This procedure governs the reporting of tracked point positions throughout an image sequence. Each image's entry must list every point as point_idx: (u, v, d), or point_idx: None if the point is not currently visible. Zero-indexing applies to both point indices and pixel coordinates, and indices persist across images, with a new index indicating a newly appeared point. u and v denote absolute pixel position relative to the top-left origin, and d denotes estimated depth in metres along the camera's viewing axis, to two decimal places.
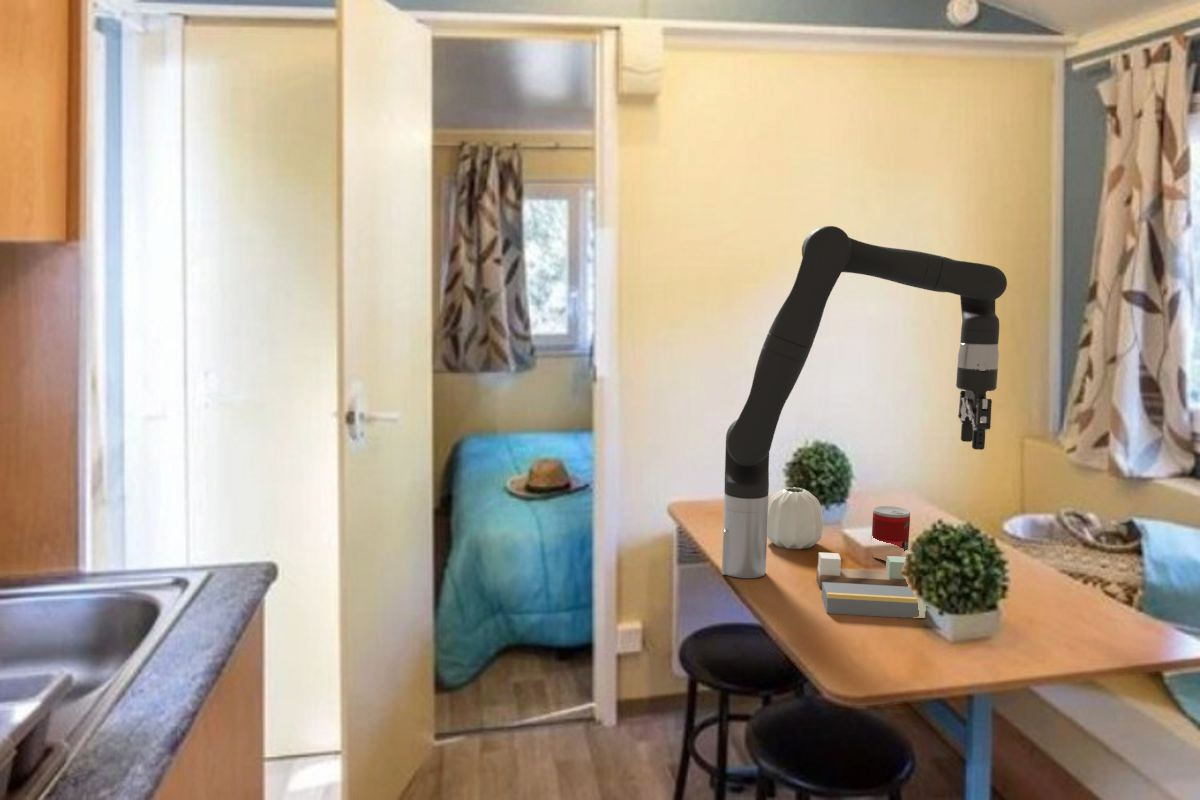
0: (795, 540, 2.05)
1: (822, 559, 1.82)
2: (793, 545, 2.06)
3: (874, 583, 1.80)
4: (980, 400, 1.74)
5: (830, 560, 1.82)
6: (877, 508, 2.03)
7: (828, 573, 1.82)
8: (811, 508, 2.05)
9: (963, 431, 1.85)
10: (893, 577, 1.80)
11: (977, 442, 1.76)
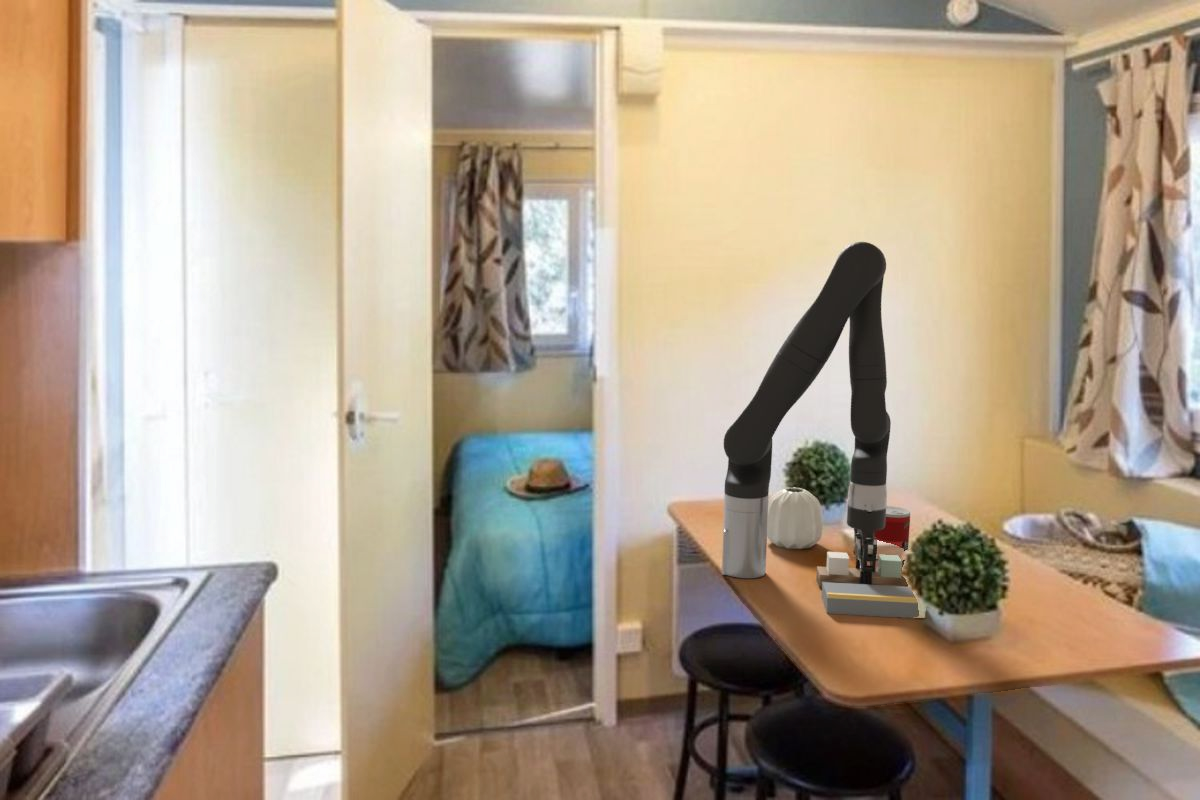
0: (795, 540, 2.05)
1: (830, 558, 1.82)
2: (793, 545, 2.06)
3: (874, 582, 1.80)
4: (866, 547, 1.76)
5: (838, 560, 1.81)
6: None
7: (836, 572, 1.82)
8: (811, 508, 2.05)
9: None
10: (884, 575, 1.81)
11: (864, 583, 1.79)
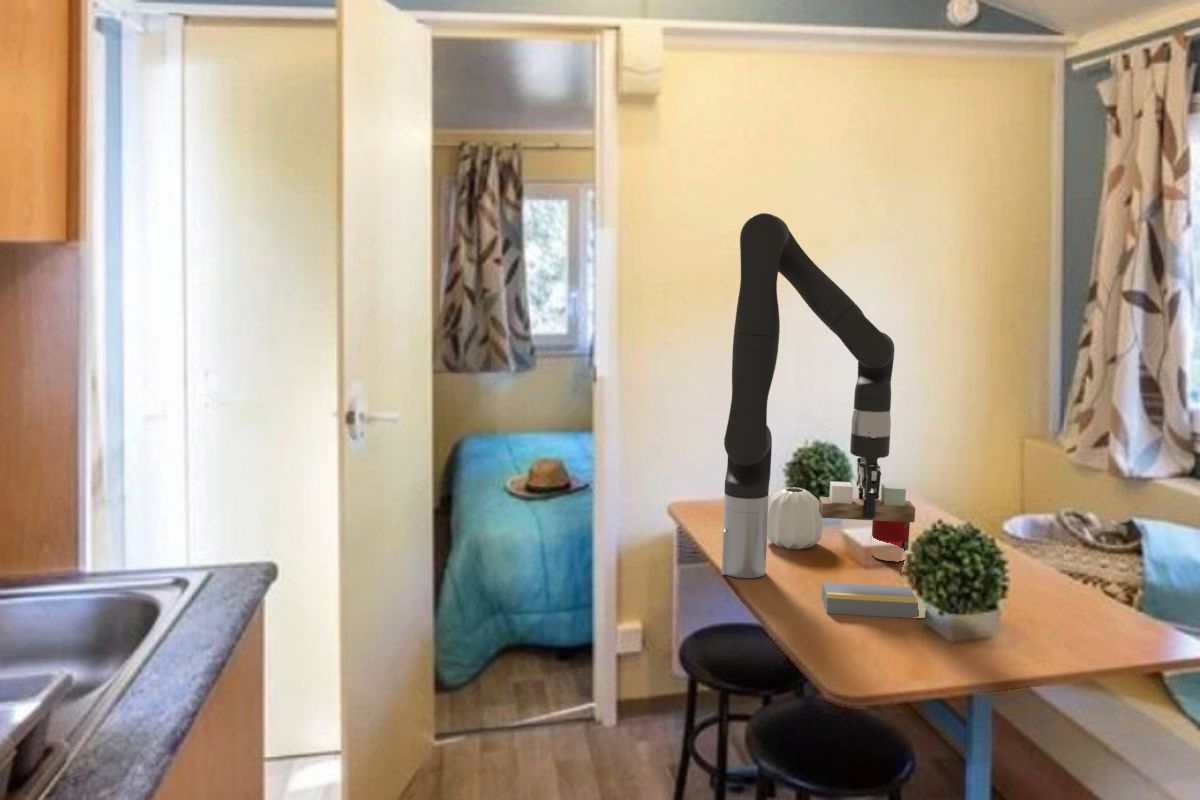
0: (795, 540, 2.05)
1: (834, 487, 1.79)
2: (793, 545, 2.06)
3: (878, 510, 1.78)
4: (869, 473, 1.73)
5: (841, 488, 1.79)
6: None
7: (840, 501, 1.80)
8: (811, 508, 2.05)
9: None
10: (888, 504, 1.78)
11: (867, 511, 1.77)
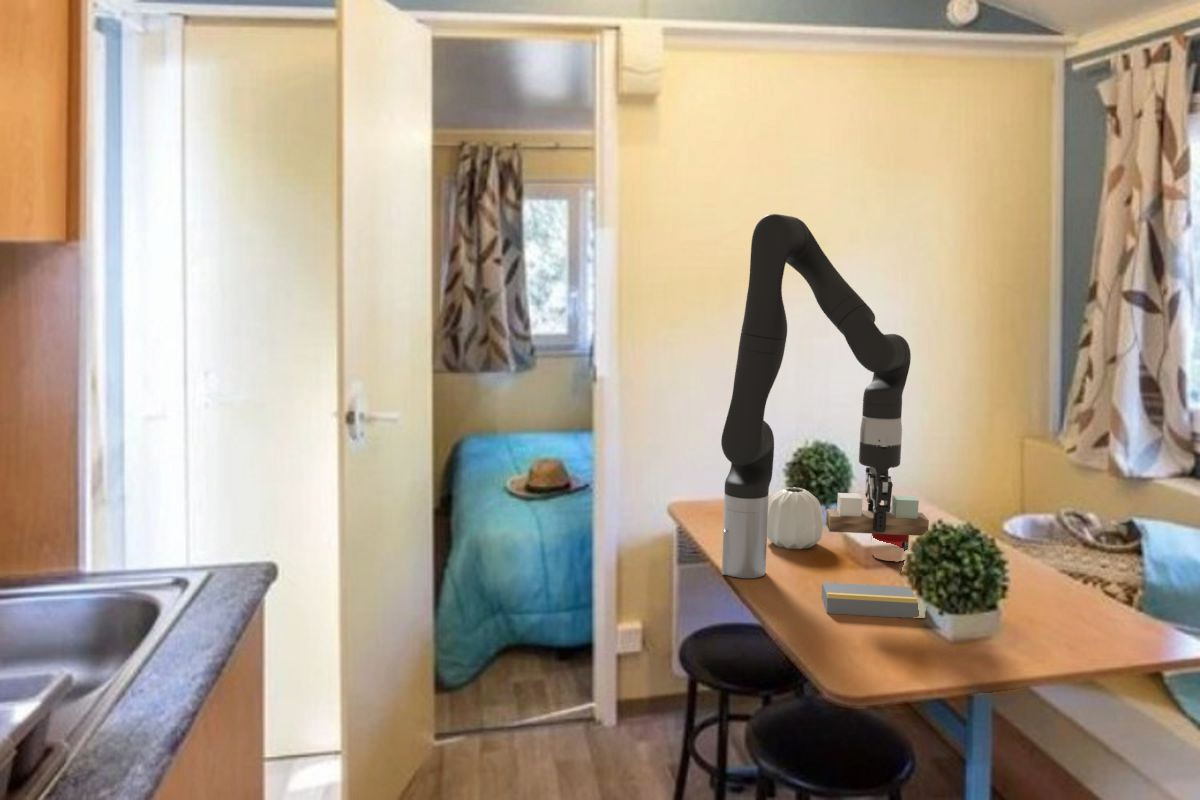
0: (795, 540, 2.05)
1: (842, 499, 1.69)
2: (793, 545, 2.06)
3: (889, 523, 1.68)
4: (880, 484, 1.63)
5: (850, 500, 1.69)
6: None
7: (848, 514, 1.69)
8: (811, 508, 2.05)
9: None
10: (900, 516, 1.68)
11: (877, 525, 1.67)
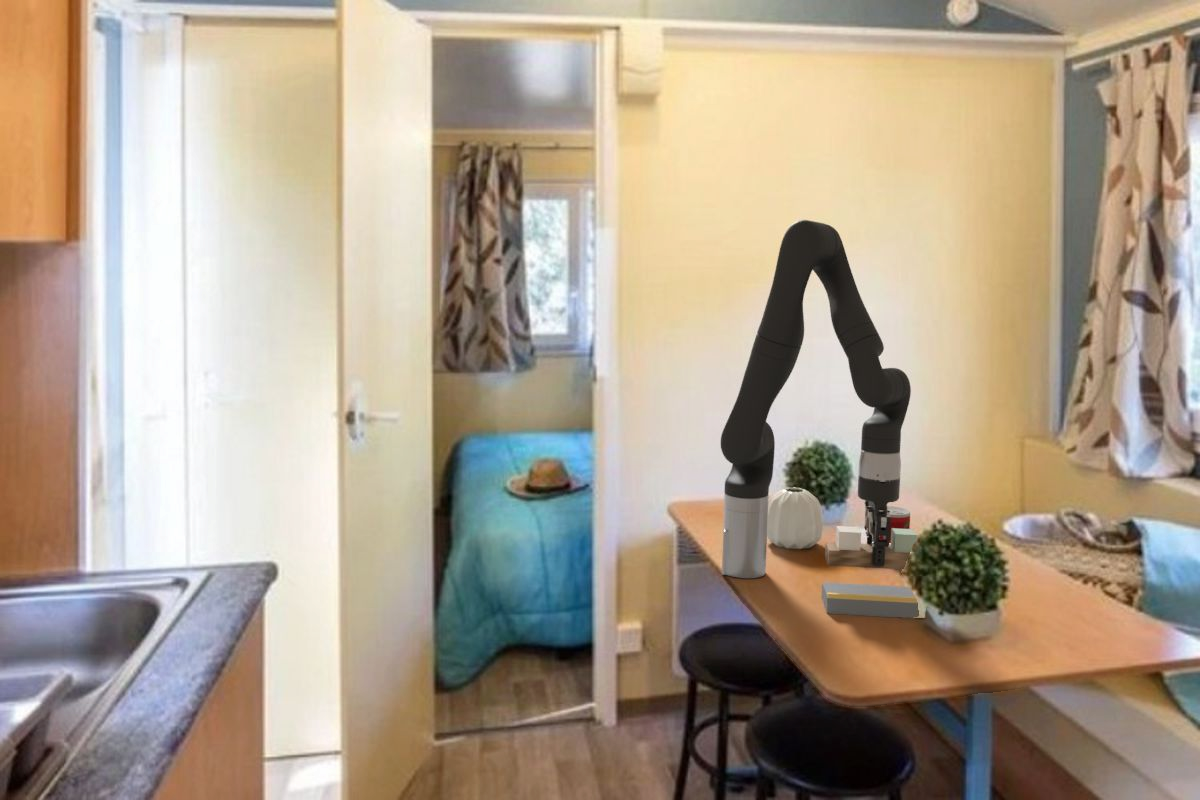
0: (795, 540, 2.05)
1: (841, 533, 1.69)
2: (793, 545, 2.06)
3: (888, 558, 1.67)
4: (879, 519, 1.63)
5: (849, 534, 1.68)
6: None
7: (847, 548, 1.69)
8: (811, 508, 2.05)
9: None
10: (899, 551, 1.68)
11: (876, 559, 1.66)
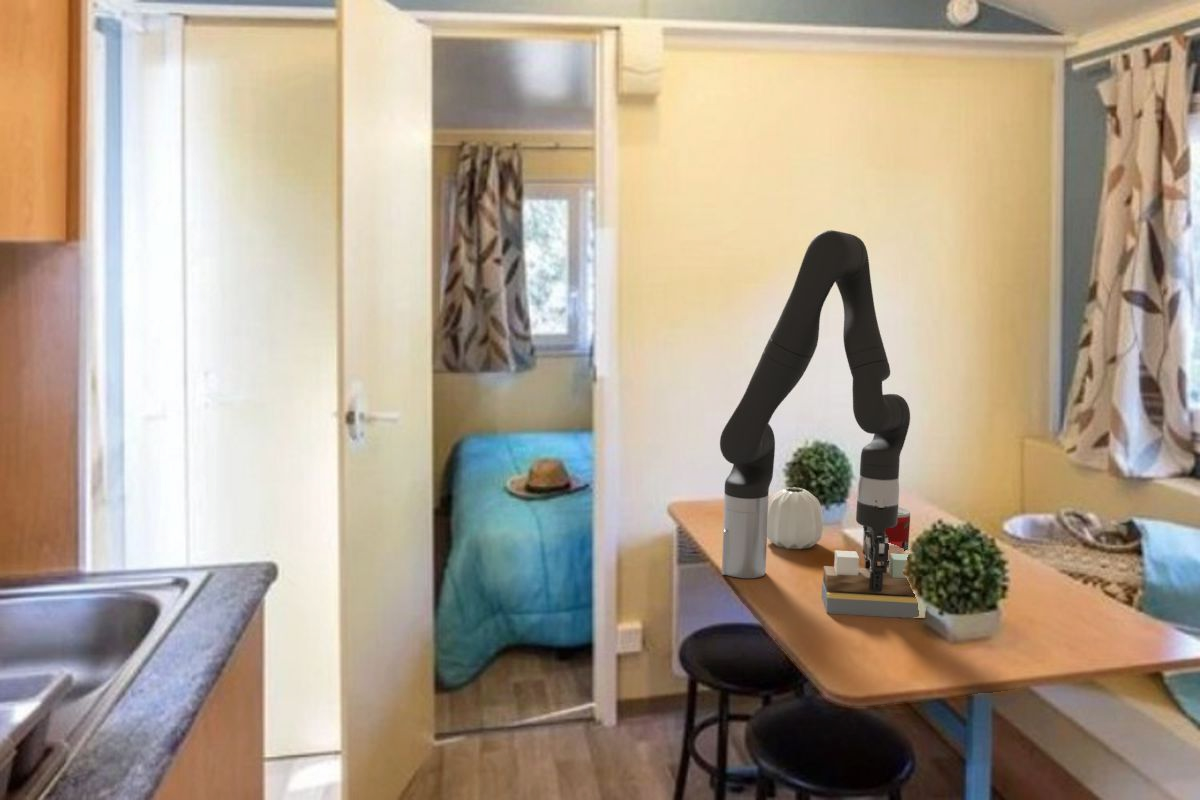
0: (795, 540, 2.05)
1: (839, 558, 1.69)
2: (793, 545, 2.06)
3: (885, 583, 1.68)
4: (877, 545, 1.63)
5: (847, 559, 1.69)
6: None
7: (845, 573, 1.70)
8: (811, 508, 2.05)
9: None
10: (896, 576, 1.68)
11: (874, 584, 1.67)
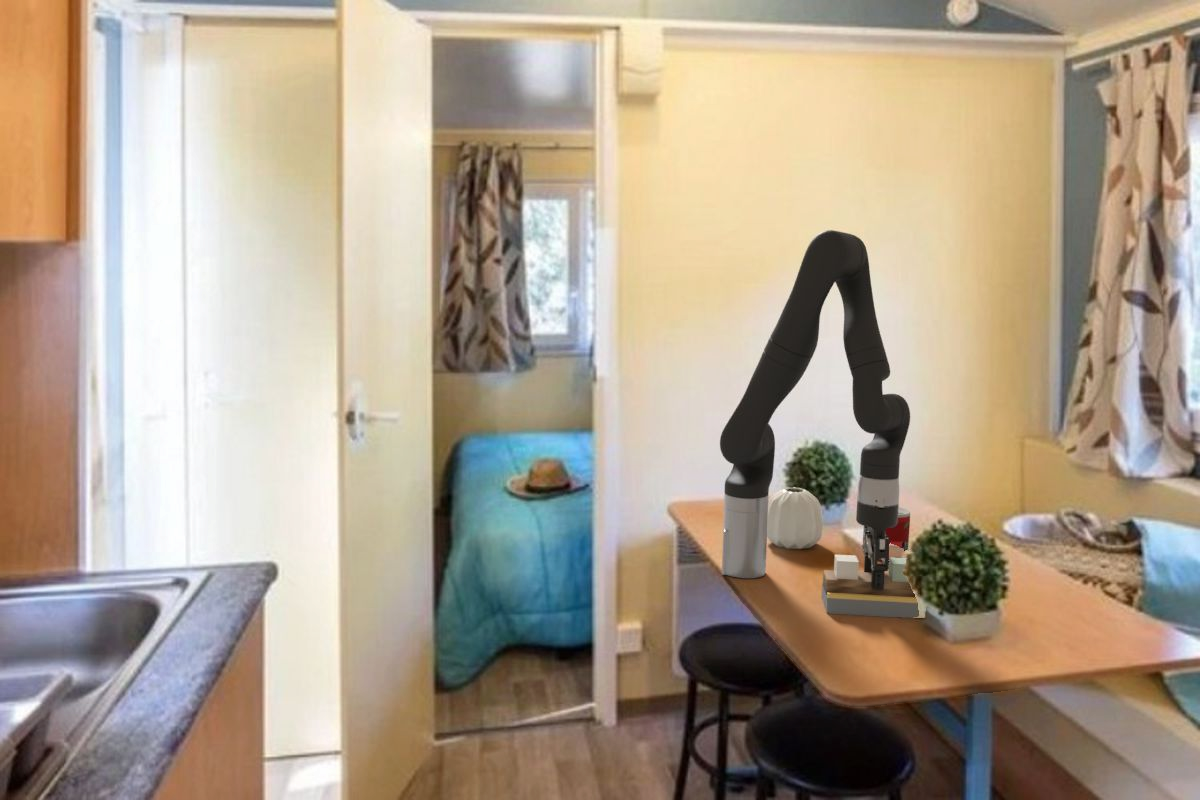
0: (795, 540, 2.05)
1: (839, 562, 1.69)
2: (793, 545, 2.06)
3: (885, 587, 1.68)
4: (877, 540, 1.63)
5: (847, 563, 1.69)
6: None
7: (845, 577, 1.70)
8: (811, 508, 2.05)
9: (866, 564, 1.75)
10: (896, 580, 1.68)
11: (875, 583, 1.66)
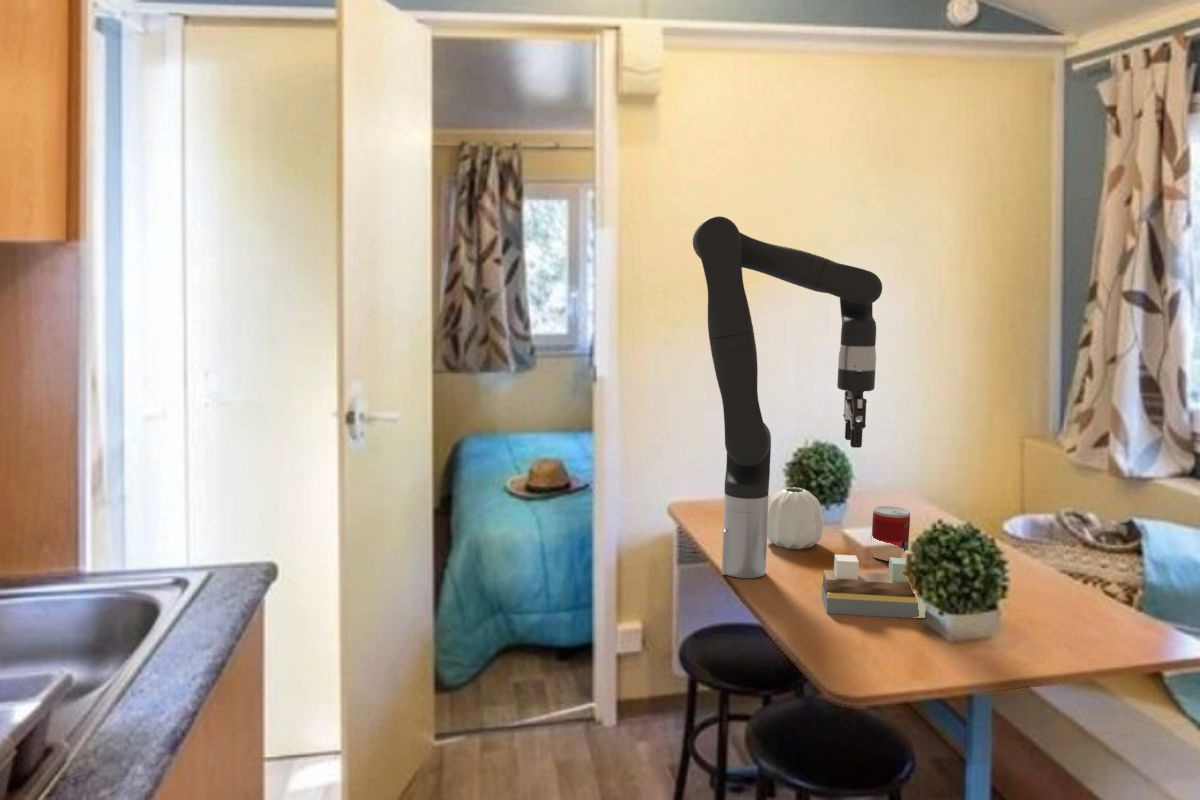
0: (795, 540, 2.05)
1: (839, 562, 1.69)
2: (793, 545, 2.06)
3: (885, 587, 1.68)
4: (855, 400, 1.81)
5: (847, 563, 1.69)
6: (877, 508, 2.03)
7: (845, 577, 1.70)
8: (811, 508, 2.05)
9: (846, 430, 1.92)
10: (896, 580, 1.68)
11: (854, 440, 1.83)
